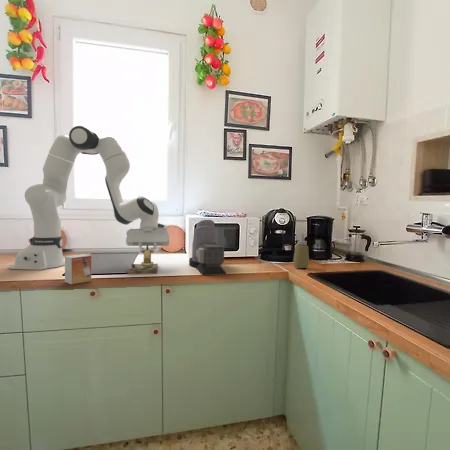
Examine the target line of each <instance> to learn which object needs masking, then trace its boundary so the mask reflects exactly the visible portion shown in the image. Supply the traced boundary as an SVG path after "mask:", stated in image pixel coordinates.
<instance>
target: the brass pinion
mask: <svg viewBox="0 0 450 450" xmlns="http://www.w3.org/2000/svg"><path fill="white" fill-rule="evenodd" d="M145 247H146V248H144V253H143V261H141V262H140V264H141V266H153V264H154V261H152V253H151V248H149V246H148V244H146V246H145Z"/></svg>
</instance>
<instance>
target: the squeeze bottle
mask: <svg viewBox="0 0 450 450" xmlns="http://www.w3.org/2000/svg"><path fill="white" fill-rule="evenodd" d="M307 242H308V241H307V240H305V235H304V234H303V233H302V234H301V235H300V238H299V240H297V244H296V245H295V247H294V253H293V259H292V260H293V265H294V268H295V267H297V268H296V269H298V268H306V269H308V266H309V264H310V256H309V255H310V254H309V246H308V245H307V244H308V243H307Z"/></svg>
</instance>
